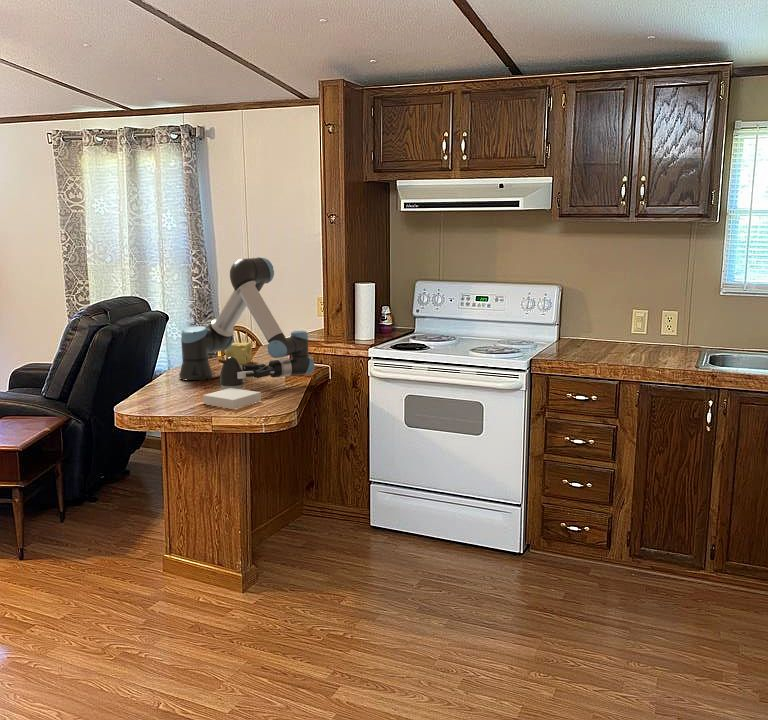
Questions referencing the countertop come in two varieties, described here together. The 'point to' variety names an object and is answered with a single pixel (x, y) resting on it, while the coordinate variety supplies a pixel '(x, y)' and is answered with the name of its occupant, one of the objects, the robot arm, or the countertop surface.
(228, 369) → the dark brown rounded piece
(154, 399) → the countertop surface
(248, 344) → the cheese
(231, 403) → the riser
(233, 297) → the robot arm
